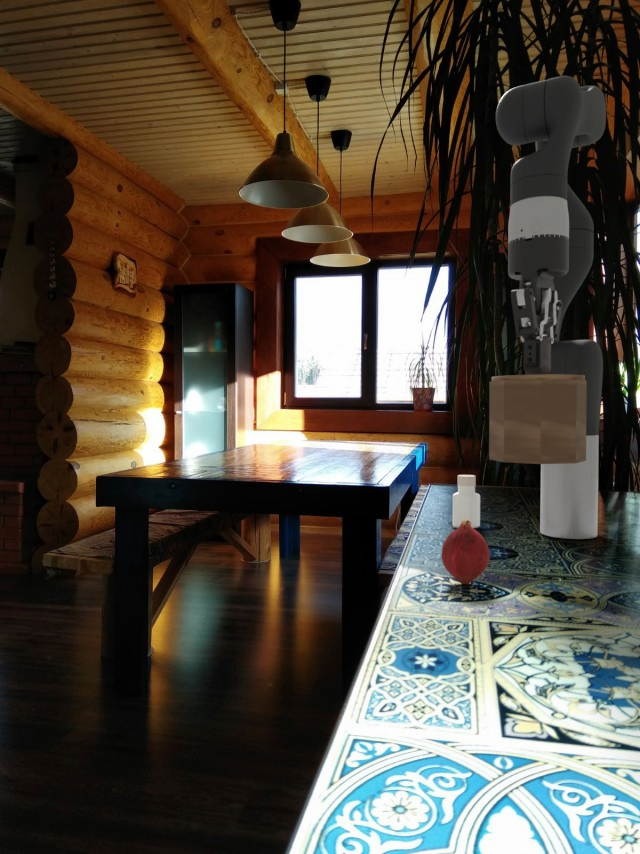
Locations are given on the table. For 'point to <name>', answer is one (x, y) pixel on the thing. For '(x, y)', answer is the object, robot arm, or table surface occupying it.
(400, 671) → the table surface
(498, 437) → the tan jar with knob
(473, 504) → the pepper shaker
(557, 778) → the table surface
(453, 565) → the onion
